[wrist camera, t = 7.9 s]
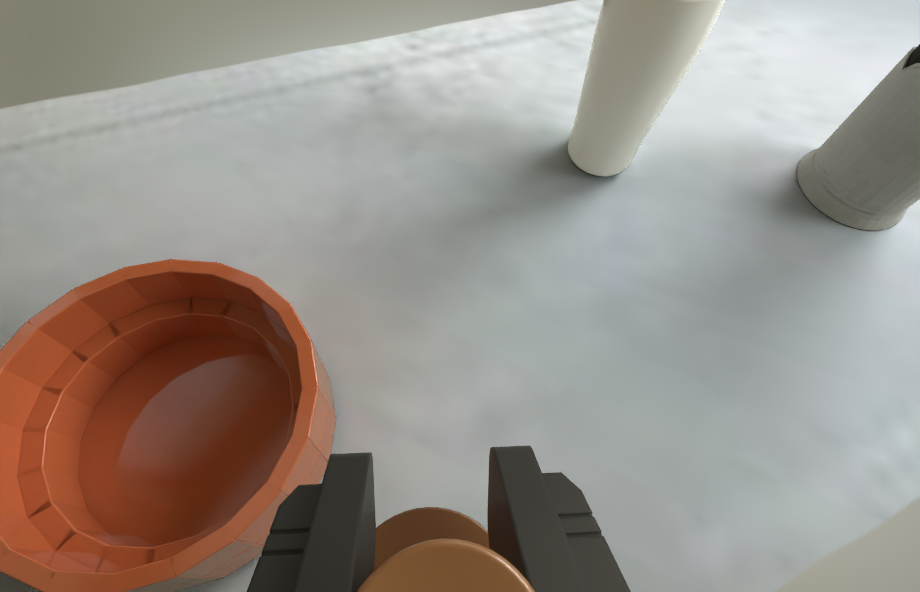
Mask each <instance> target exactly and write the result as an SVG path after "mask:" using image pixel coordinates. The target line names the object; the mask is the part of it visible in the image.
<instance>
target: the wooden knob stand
mask: <svg viewBox="0 0 920 592" xmlns="http://www.w3.org/2000/svg"><path fill="white" fill-rule="evenodd" d="M357 592H535V591H534V589H533V588H532V586H531V585H530V584H529V582H528V581H527V579H526V578H525V577H524V576H523V575H522V574H521V573H520V572H519V571H518V569H517V568H516V567H514V566H513V565H512V564H511V563H510V562H509V561H507V560H506V559H505V558H504V557H502V556H501V555H499V554H497V553H496V552H494V551H493V550H491V549H490V548H489V538H488V531H487V530H486V529H485V528H484V527H483V526H481V525H480V524H479V523H478V522H476V521H475V520H473V519H471V518H470V517H468V516H466V515H464V514H462V513H460V512H456V511H453V510H450V509H445V508H439V507H424V508H416V509H412V510H408V511H405V512H402V513H400V514H398V515H395V516H393V517H392V518H390V519H388V520H386V521H385V522H383V523H382V524H381V525H379V526H378V527H377V528H376V546H375V564H374V571H373V572H372V573H371V574H370V575H369V576H368V577H367V578H366V580H365V581H364V582H363V584H362V585H361V586H360V587H359V589H358V590H357Z"/></svg>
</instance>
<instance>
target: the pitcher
mask: <svg viewBox="0 0 920 592" xmlns="http://www.w3.org/2000/svg"><path fill="white" fill-rule="evenodd" d="M797 178H798V182H799V185H800V187H801V189H802V191H803V193H804V194H805V196H806V197H807V198H808V199H809V201H810V202H811V203H812V204H813V205H814V206H815V207H816V208H818V209H819V210H820V211H821V212H823V213H824V214H825V215H827V216H829V217H830V218H832V219H833V220H835V221H838V222H840V223H842V224H844V225H847V226H850V227H853V228H857V229H861V230H871V231H875V230H884V229H888V228H890V227H892V226H894V225H896V224H897V223H898V222H899V221H900V220H901V219H902V218H903V216H904V214H905V212H906V210H907V209H908V207H909V206H911V205H912V204H913V203H915V202H916V201H917V200H919V199H920V44H919V46H918V47H913V48H912V49H911V50H910V51H909V52H908V53H907V54H906V55H905V57H904V58H903V59H902V60H901V61H900V62H899V63H898V64H897V65H896V66H895V67H894V68H893V69H892V71H891V72H890V73H889V74H888V75H887V76H886V77H885V78H884V79H883V80H882V81H881V82H880V83H879V85H878V86H877V87H876V88H875V89H874V90H873V91H872V92H871V93H870V94H869V95H868V96H867V97H866V98H865V100H864V101H863V102H862V103H861V104H860V105H859V106H858V107H857V108H856V109H855V110H854V111H853V112H852V114H851V115H850V116H849V117H848V118H847V119H846V120H845V121H844V122H843V123H842V124H841V125H840V126H839V128H838V129H837V130H836V131H835V132H834V133H833V134H832V135H831V136H830V137H829V138H828V139H827V140H826V142H825V143H824V144H823V145H822V146H821V147H820V148H818V149H816V150H813V151H811V152H809V153H808V154H807V155H805V156H804V157H803V158H802V159H801V161H800V162H799V165H798V167H797Z"/></svg>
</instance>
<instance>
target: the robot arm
mask: <svg viewBox="0 0 920 592" xmlns="http://www.w3.org/2000/svg"><path fill="white" fill-rule="evenodd" d="M488 538H489V548H490V549H491V550H493V551H494V552H496V553H497V554H499V555H501V556H502V557H504V558H505V559H506V560H507V561H509V562H510V563H511V564H512V565H513V566H514V567H516V568H517V569H518V571H519V572H520V573H521V574H522V575H523V576H524V577H525V578H526V579H527V581H528V582H529V584H530V585H531V586H532V588H533V589H534V591H535V592H630V590H629V587H628V585H627V583H626V581H625V579H624V577H623V575H622V573H621V571H620V569H619V567H618V565H617V563H616V561H615V559H614V557H613V555H612V553H611V550H610V548H609V546H608V544H607V542H606V540H605V538H604V536H602V535H601V530H600V528H599V526H598V524H597V522H596V520H595V518H594V517H592V511H591V509H590V507H589V505H588V503H587V501H586V499H585V497H584V495H583V493H582V491H581V490H580V489H579V488H578V487H577V486H576V485H575V484H573V483H572V482H571V481H570V480H569V479H568V478H567V477H566V476H565V475H563V474H562V473H541V470H540V467H539V465H538V462H537V460H536V457H535V455H534V452H533V450H532V448H531V446H511V447H491V449H490V456H489V486H488ZM375 546H376V522H375V500H374V477H373V459H372V453H349V454H331V455H330V457H329V460H328V463H327V467H326V471H325V474H324V478H323V482H322V484H309V485H298V486H297V487H296V488H295V489H294V490H293V492H292V493H291V494H290V495H289V496H288V497H287V498H286V499H285V500H284V501H283V502H282V503H281V504H280V505H279V507H278V509H277V512H276V515H275V517H274V520H273V523H272V526H271V528H270V534H269V535H268V536H267V539H266V542H265V544H264V547H263V550H262V556H261V557H260V558H259V560H258V563H257V566H256V568H255V571H254V574H253V576H252V579H251V582H250V584H249V587H248V590H247V592H357V590H358V589H359V587H360V586H361V585H362V584H363V582H364V581H365V580H366V578H367V577H368V576H369V575H370V574H371V573H372V572H373V571H374V564H375Z"/></svg>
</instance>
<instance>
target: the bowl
mask: <svg viewBox="0 0 920 592" xmlns="http://www.w3.org/2000/svg"><path fill="white" fill-rule="evenodd" d="M335 425H336V413H335V407H334V401H333V394H332V388H331V382H330V379H329V376H328V374H327V372H326V370H325V368H324V366H323V364H322V362H321V360H320V358H319V355H318V353H317V351H316V349H315V347H314V345H313V343H312V341H311V339H310V337H309V335H308V334H307V332H306V330H305V328H304V326H303V325H302V323H301V321H300V319H299V317H298V316H297V314H296V312H295V310H294V308H293V307H292V306H291V304H290V303H289V302H288V301H286V300H285V299H284V298H283V297H282V296H280V295H279V294H278V293H277V292H276V291H274V290H273V289H272V288H271V287H270V286H268V285H267V284H266V283H265V282H264V281H262V280H261V279H260V278H258V277H255V276H253V275H250V274H247V273H245V272H242V271H240V270H237V269H234V268H232V267H229V266H226V265H224V264H221V263H216V262H203V261H189V260H176V259H174V260H172V259H169V260H164V261H158V262H152V263H146V264H141V265H135V266H129V267H124V268H121V269H119V270H117V271H114V272H112V273H109V274H107V275H105V276H102V277H100V278H98V279H95V280H93V281H90V282H88V283H86V284H83V285H81V286H78V287H76V288H74V290H71V291H69V292H68V293H66V294H65V295H64V296H62V297H61V298H59V299H58V300H56V301H55V302H54V303H52V304H51V305H49V306H48V307H47V308H45V309H44V310H42V311H41V312H39V313H38V314H37V315H35V316H34V317H32V318H31V319H29V320H28V322H26V323H25V324H24V325H23V326H22V327H21V328H20V329H19V330H18V331H17V333H16V334H15V335H14V336H13V337H12V338H11V339H10V340H9V341H8V342H7V344H6V345H5V346H4V347H3V348H2V349H1V350H0V572H2V573H4V574H6V575H8V576H10V577H12V578H14V579H16V580H18V581H21V582H23V583H25V584H27V585H29V586H31V587H33V588H35V589H37V590H39V591H41V592H175V591H178V590H182V589H185V588H189V587H192V586H196V585H199V584H203V583H206V582H210V581H213V580H217V579H220V578H224V577H225V576H227V575H229V574H230V573H232V572H234V571H235V570H237V569H238V568H240V567H241V566H243V565H244V564H246V563H248V562H249V561H251V560H252V559H254V558H255V557H257V556H259V555H260V554H262V550H263V547H264V544H265V542H266V539H267V536H268V535H269V534H270V528H271V526H272V523H273V520H274V517H275V515H276V512H277V509H278V507H279V505H280V504H281V503H282V502H283V501H284V500H285V499H286V498H287V497H288V496H289V495H290V494H291V493H292V492H293V490H294V489H295V488H296V487H297V486H298V485H309V484H319V482H320V480H321V478H322V476H323V474H324V472H325V470H326V467H327V463H328V460H329V457H330V454H331V448H332V442H333V436H334V430H335Z"/></svg>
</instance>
